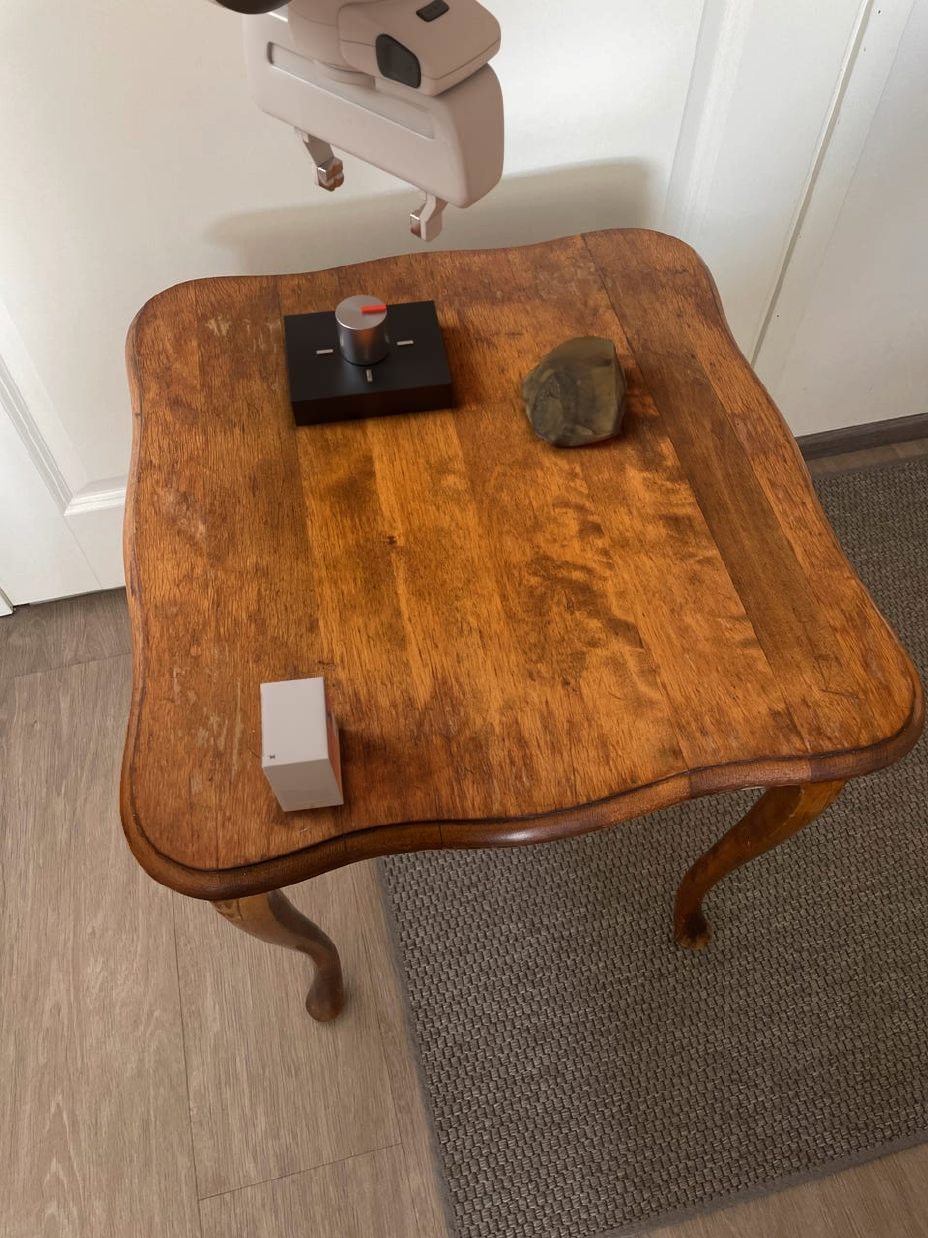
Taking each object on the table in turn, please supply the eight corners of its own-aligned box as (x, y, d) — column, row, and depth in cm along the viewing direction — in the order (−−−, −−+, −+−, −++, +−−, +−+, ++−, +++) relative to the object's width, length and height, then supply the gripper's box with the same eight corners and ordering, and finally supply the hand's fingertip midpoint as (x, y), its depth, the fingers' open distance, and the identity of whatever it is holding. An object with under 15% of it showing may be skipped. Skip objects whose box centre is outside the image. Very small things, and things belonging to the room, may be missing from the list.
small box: (344, 806, 62) (330, 761, 55) (282, 813, 61) (260, 769, 55) (339, 726, 65) (325, 674, 58) (280, 733, 65) (259, 681, 58)
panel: (295, 426, 80) (290, 400, 77) (288, 340, 86) (282, 313, 83) (452, 407, 81) (452, 381, 78) (434, 325, 87) (433, 298, 84)
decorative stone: (638, 446, 79) (646, 417, 76) (532, 453, 78) (535, 425, 75) (615, 361, 84) (621, 331, 81) (516, 368, 84) (518, 338, 81)
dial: (342, 367, 79) (337, 328, 76) (338, 333, 82) (332, 294, 78) (392, 362, 80) (389, 323, 76) (386, 328, 82) (383, 289, 78)
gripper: (201, -32, 57) (246, 176, 68) (456, 78, 50) (457, 287, 62) (272, -68, 59) (304, 138, 71) (524, 32, 53) (513, 241, 64)
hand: (377, 209), depth 66 cm, fingers open, 8 cm apart
